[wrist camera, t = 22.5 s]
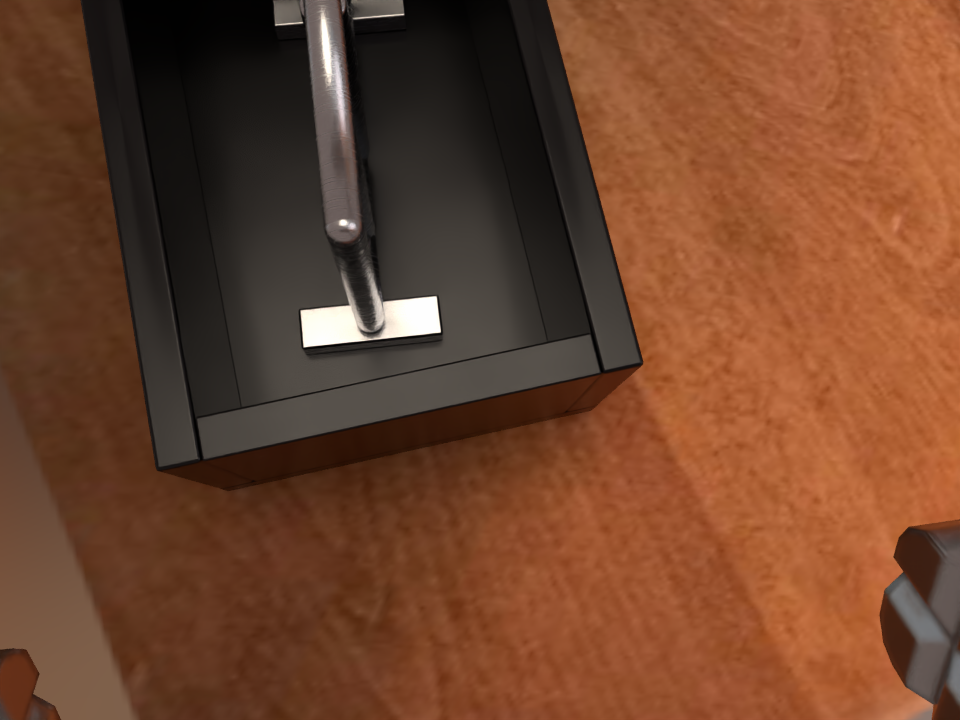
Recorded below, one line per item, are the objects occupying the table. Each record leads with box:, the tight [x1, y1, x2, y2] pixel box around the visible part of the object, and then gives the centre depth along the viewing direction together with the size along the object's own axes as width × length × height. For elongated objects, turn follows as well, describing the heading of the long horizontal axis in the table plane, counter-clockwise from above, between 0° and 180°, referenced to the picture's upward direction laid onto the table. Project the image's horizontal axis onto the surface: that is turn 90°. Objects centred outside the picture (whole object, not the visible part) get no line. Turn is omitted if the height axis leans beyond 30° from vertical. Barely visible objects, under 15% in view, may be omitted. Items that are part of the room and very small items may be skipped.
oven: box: [81, 0, 643, 491], centre depth 25 cm, size 17×11×7 cm, turn 13°
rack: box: [272, 0, 443, 354], centre depth 23 cm, size 11×4×9 cm, turn 7°
